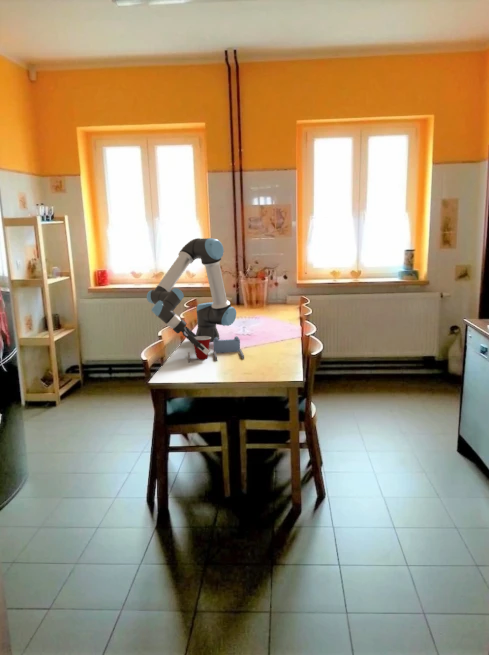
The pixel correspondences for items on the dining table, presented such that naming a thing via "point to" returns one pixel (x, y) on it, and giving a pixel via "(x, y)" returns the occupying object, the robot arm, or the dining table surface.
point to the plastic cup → (205, 342)
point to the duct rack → (225, 347)
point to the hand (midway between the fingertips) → (207, 350)
